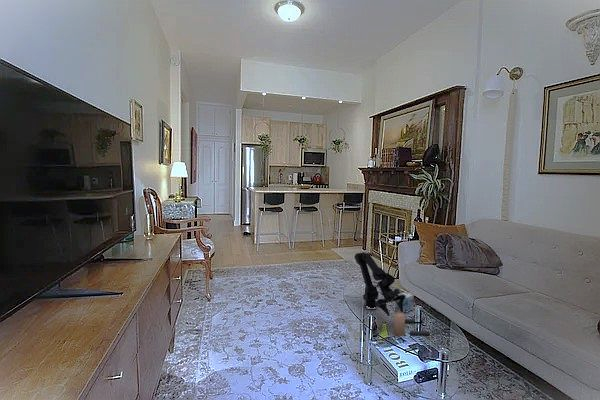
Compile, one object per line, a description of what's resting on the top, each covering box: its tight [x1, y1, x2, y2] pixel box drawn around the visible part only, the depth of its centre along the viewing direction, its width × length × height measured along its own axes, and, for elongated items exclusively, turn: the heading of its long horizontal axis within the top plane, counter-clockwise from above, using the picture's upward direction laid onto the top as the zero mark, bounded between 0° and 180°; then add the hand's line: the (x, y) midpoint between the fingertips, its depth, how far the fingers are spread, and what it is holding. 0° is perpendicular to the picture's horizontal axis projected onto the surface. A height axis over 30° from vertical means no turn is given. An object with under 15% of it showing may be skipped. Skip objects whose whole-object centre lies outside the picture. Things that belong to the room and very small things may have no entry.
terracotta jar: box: [393, 311, 406, 337], centre depth 193 cm, size 6×6×12 cm
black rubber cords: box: [405, 318, 430, 336], centre depth 198 cm, size 11×15×2 cm
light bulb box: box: [394, 291, 415, 314], centre depth 219 cm, size 11×7×11 cm, turn 117°
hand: (396, 314), depth 196 cm, fingers open, 9 cm apart
